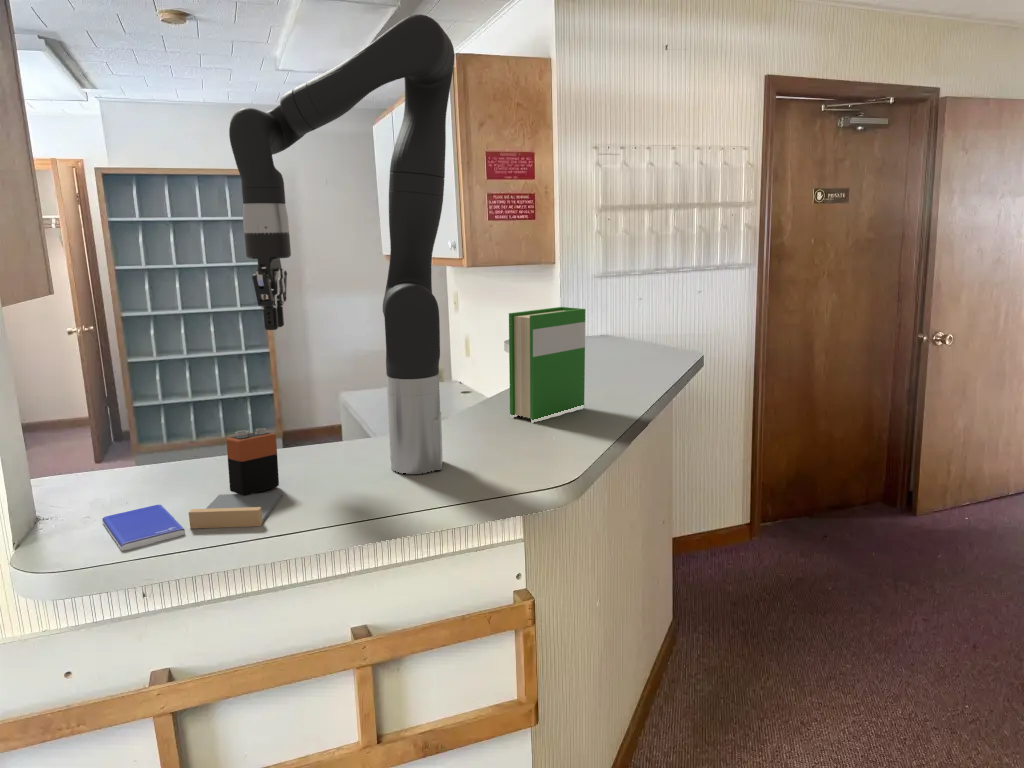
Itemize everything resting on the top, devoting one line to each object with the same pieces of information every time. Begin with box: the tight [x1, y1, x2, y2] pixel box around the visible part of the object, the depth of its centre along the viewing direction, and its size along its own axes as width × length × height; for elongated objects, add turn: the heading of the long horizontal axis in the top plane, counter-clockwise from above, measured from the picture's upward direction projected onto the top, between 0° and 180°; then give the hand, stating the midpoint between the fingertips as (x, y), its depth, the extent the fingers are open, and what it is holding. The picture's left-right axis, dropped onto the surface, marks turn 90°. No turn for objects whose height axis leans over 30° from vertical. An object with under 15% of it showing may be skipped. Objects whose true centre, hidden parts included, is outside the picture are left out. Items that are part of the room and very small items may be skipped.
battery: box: [226, 427, 280, 495], centre depth 116 cm, size 4×7×10 cm, turn 143°
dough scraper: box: [188, 492, 283, 529], centre depth 108 cm, size 10×12×2 cm
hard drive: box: [101, 504, 186, 552], centre depth 102 cm, size 2×8×12 cm
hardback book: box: [508, 306, 586, 420], centre depth 162 cm, size 18×7×24 cm, turn 135°
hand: (274, 327), depth 127 cm, fingers open, 3 cm apart
